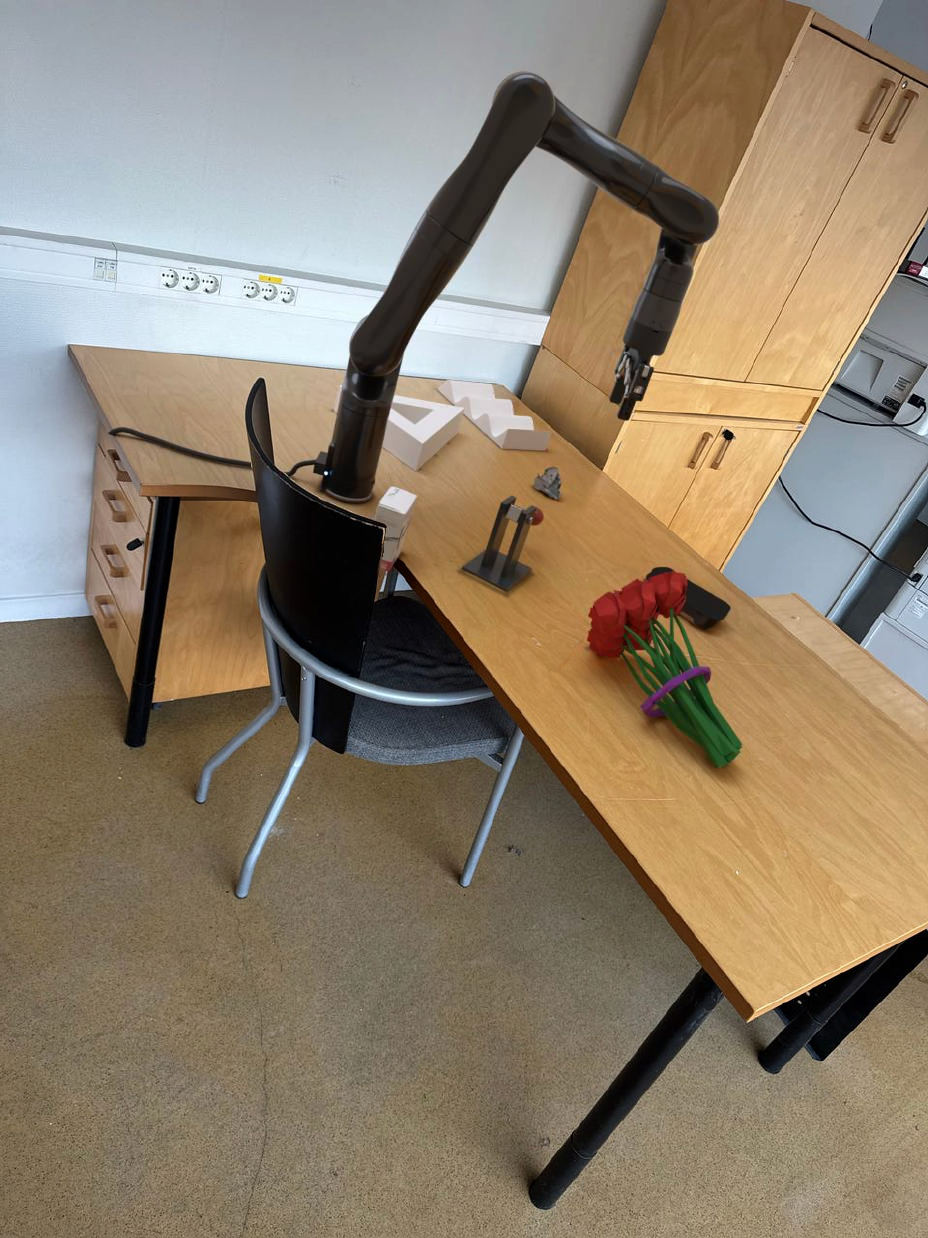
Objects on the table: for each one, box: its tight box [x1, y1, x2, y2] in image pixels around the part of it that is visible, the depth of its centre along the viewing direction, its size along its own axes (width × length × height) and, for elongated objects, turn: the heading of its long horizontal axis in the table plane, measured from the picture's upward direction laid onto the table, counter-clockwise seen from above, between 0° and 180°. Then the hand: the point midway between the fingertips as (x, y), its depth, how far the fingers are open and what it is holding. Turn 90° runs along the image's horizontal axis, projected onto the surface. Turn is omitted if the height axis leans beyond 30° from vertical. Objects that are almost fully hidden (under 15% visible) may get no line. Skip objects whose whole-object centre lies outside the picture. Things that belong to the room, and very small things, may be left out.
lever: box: [506, 504, 545, 527], centre depth 149 cm, size 15×3×3 cm, turn 151°
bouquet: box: [586, 570, 743, 769], centre depth 125 cm, size 20×16×30 cm
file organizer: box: [437, 379, 553, 452], centre depth 215 cm, size 13×35×5 cm, turn 28°
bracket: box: [461, 495, 538, 593], centre depth 146 cm, size 11×9×14 cm
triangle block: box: [333, 384, 465, 472], centre depth 192 cm, size 30×26×6 cm
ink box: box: [373, 485, 418, 573], centre depth 140 cm, size 9×5×12 cm, turn 168°
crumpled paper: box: [533, 466, 563, 500], centre depth 184 cm, size 4×8×7 cm, turn 30°
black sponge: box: [645, 566, 732, 630], centre depth 157 cm, size 16×8×4 cm, turn 46°
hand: (618, 410), depth 152 cm, fingers open, 8 cm apart
